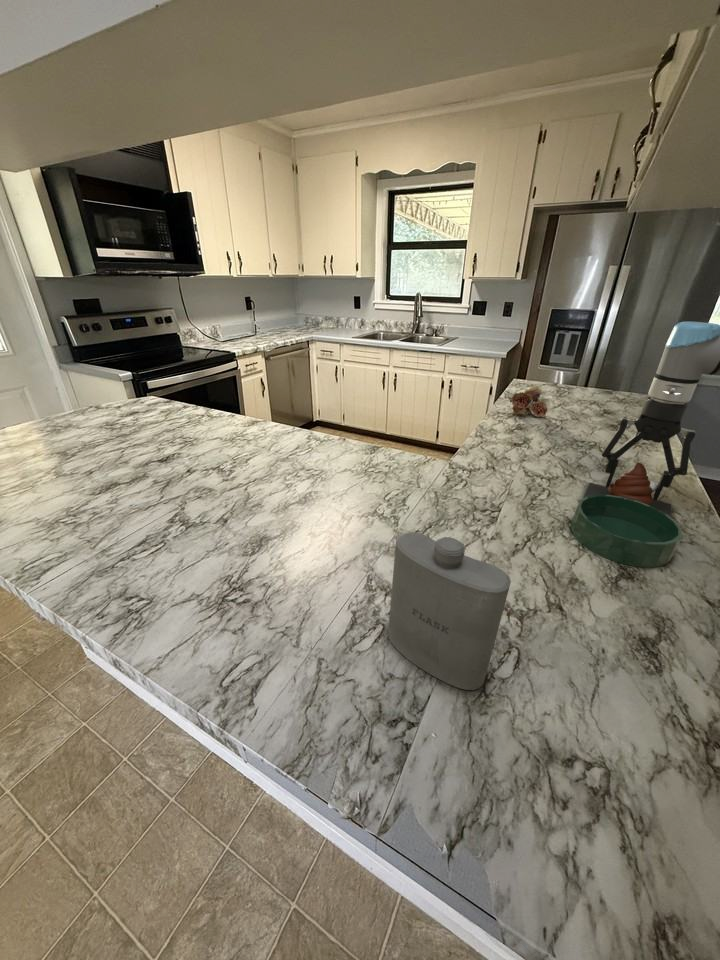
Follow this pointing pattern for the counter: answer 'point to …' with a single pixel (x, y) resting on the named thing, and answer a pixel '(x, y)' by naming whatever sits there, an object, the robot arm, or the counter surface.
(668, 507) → the mat
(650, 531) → the green round dish
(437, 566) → the flask
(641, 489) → the poop emoji
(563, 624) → the counter surface
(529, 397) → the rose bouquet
